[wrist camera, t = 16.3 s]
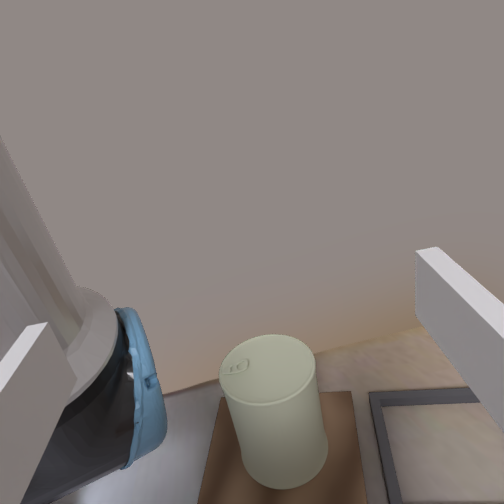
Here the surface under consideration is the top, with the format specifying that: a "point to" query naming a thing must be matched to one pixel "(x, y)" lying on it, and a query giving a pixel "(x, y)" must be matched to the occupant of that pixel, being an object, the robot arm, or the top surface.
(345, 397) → the walnut board
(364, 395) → the top surface
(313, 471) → the can
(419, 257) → the robot arm
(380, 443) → the grey picture frame
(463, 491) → the top surface
